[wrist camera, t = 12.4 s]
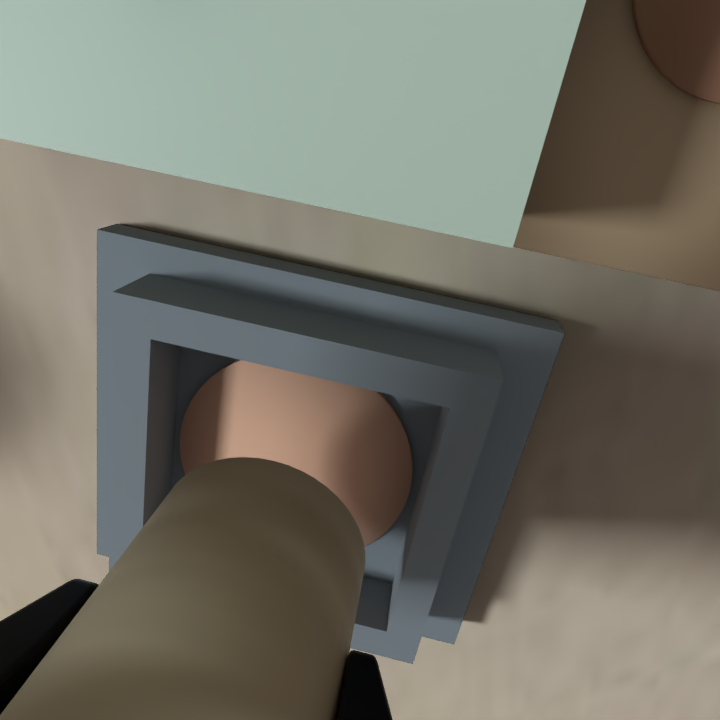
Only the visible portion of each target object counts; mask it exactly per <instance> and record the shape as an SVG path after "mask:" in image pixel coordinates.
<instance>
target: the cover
mask: <svg viewBox="0 0 720 720" xmlns="http://www.w3.org/2000/svg"><path fill="white" fill-rule="evenodd" d="M585 3H586V0H0V138H1V139H6V140H11V141H15V142H20V143H25V144H29V145H34V146H39V147H43V148H48V149H53V150H57V151H62V152H67V153H71V154H76V155H81V156H85V157H90V158H95V159H99V160H104V161H109V162H113V163H118V164H123V165H127V166H132V167H137V168H141V169H146V170H151V171H155V172H160V173H165V174H169V175H174V176H179V177H183V178H188V179H193V180H197V181H202V182H207V183H211V184H216V185H221V186H225V187H230V188H235V189H239V190H244V191H249V192H253V193H258V194H263V195H267V196H272V197H277V198H281V199H286V200H291V201H295V202H300V203H305V204H309V205H314V206H319V207H323V208H328V209H333V210H337V211H342V212H347V213H351V214H356V215H361V216H365V217H370V218H374V219H379V220H384V221H388V222H393V223H398V224H402V225H407V226H412V227H416V228H421V229H426V230H430V231H435V232H440V233H444V234H449V235H454V236H458V237H463V238H468V239H472V240H477V241H482V242H486V243H491V244H496V245H500V246H505V247H510V248H513V245H514V242H515V239H516V235H517V232H518V229H519V225H520V222H521V219H522V215H523V212H524V208H525V205H526V202H527V198H528V195H529V192H530V188H531V185H532V181H533V178H534V175H535V171H536V168H537V165H538V161H539V158H540V155H541V151H542V148H543V144H544V141H545V138H546V134H547V131H548V128H549V124H550V121H551V117H552V114H553V111H554V107H555V104H556V101H557V97H558V94H559V90H560V87H561V84H562V80H563V77H564V74H565V70H566V67H567V64H568V60H569V57H570V53H571V50H572V47H573V43H574V40H575V37H576V33H577V30H578V26H579V23H580V20H581V16H582V13H583V10H584V6H585Z"/></svg>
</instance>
